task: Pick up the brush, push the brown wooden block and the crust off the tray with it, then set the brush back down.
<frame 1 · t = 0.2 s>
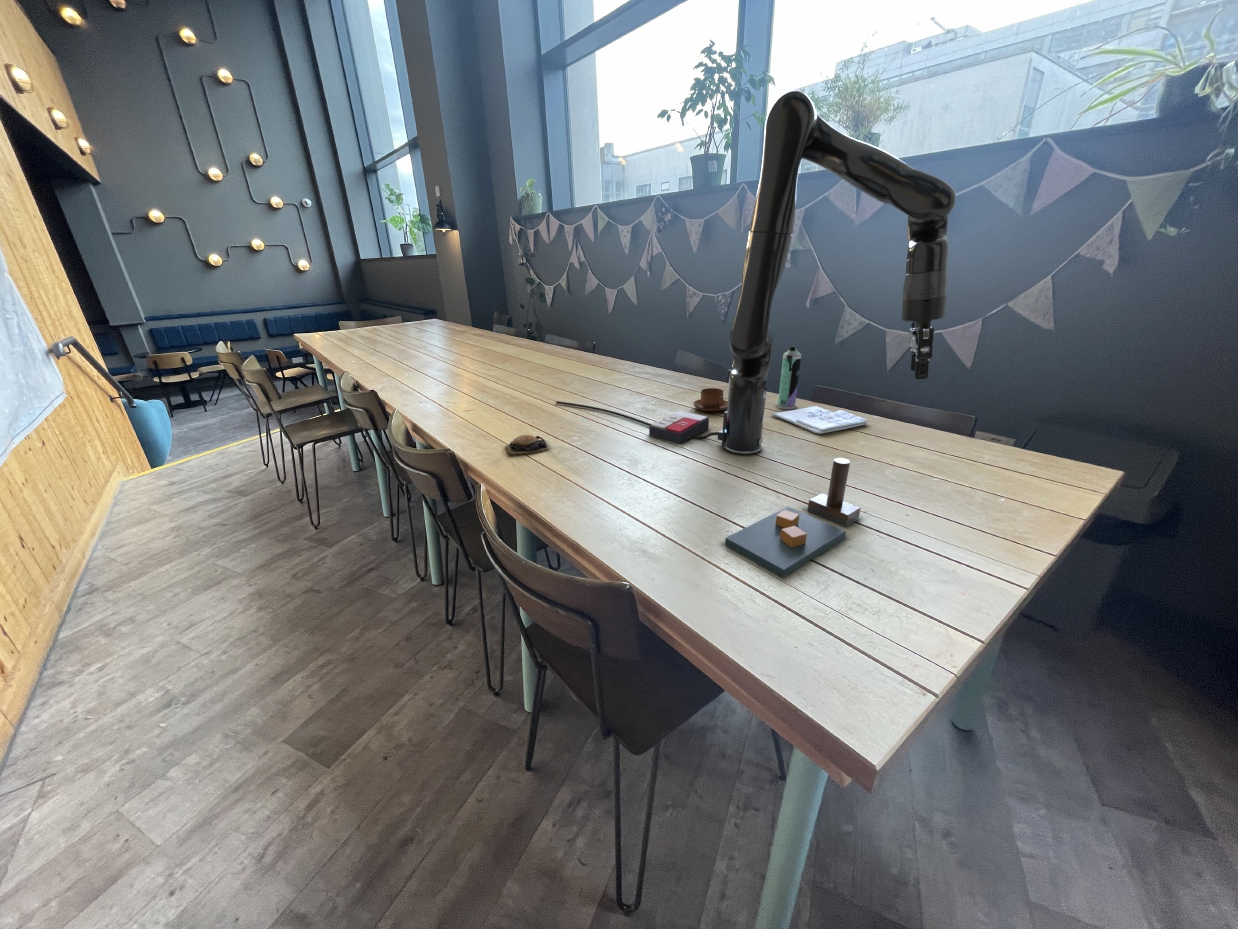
hand: (918, 374, 101), 22 cm above the table, tool pointing down, fingers open, 8 cm apart
brown wooden block: (786, 524, 86), point 1 cm above the table, touching tray
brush: (832, 514, 91), on the table
folded bicycle print cloth: (818, 421, 143), on the table
spray can: (786, 407, 157), on the table
red-topped box: (679, 433, 137), on the table
crust b: (792, 541, 81), point 1 cm above the table, touching tray
brown domed lump: (527, 449, 129), on the table
tray: (785, 541, 83), on the table
cup and saucer: (711, 409, 157), on the table
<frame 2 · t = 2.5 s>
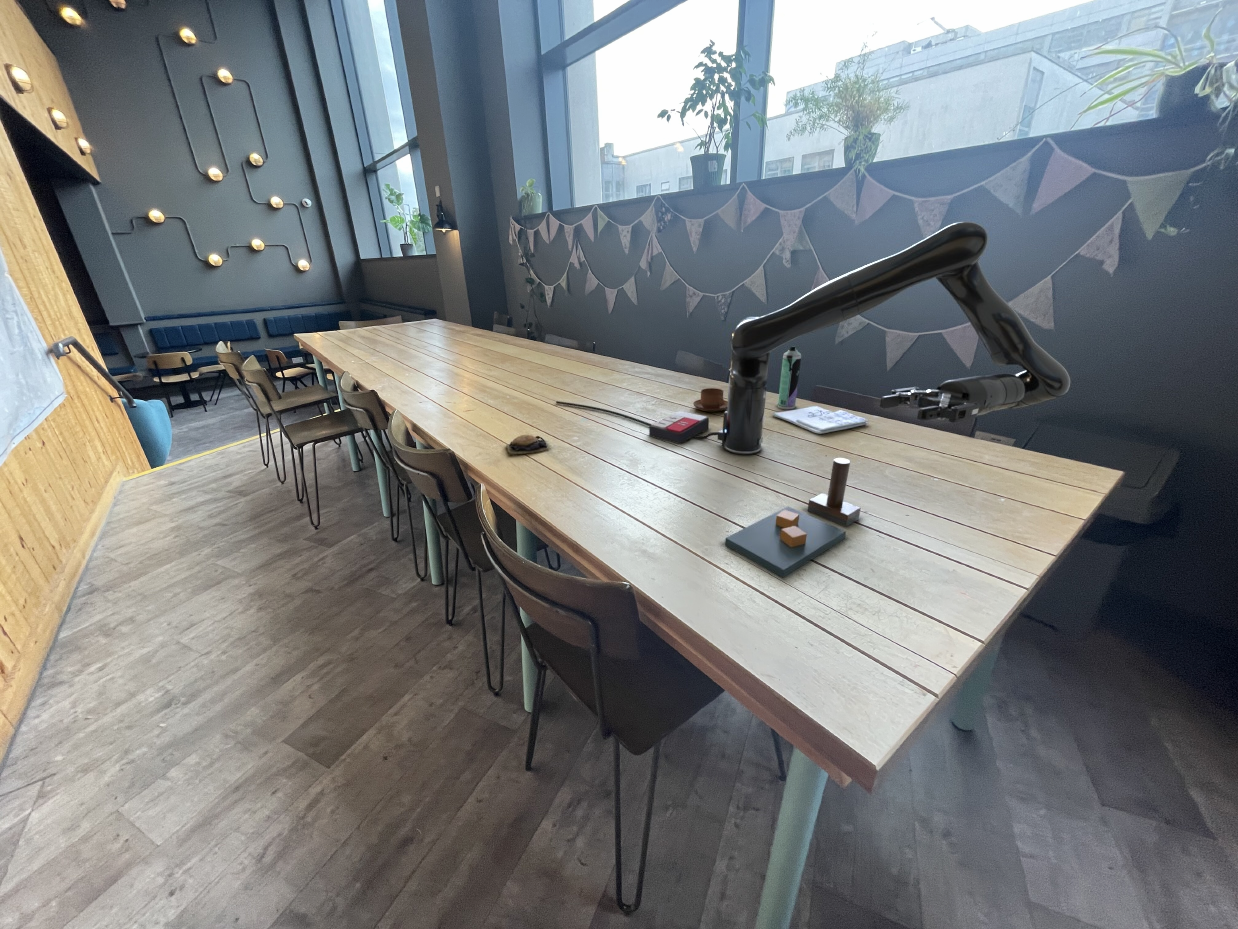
hand: (899, 408, 86), 20 cm above the table, tool horizontal, fingers open, 8 cm apart
nothing on the table moved.
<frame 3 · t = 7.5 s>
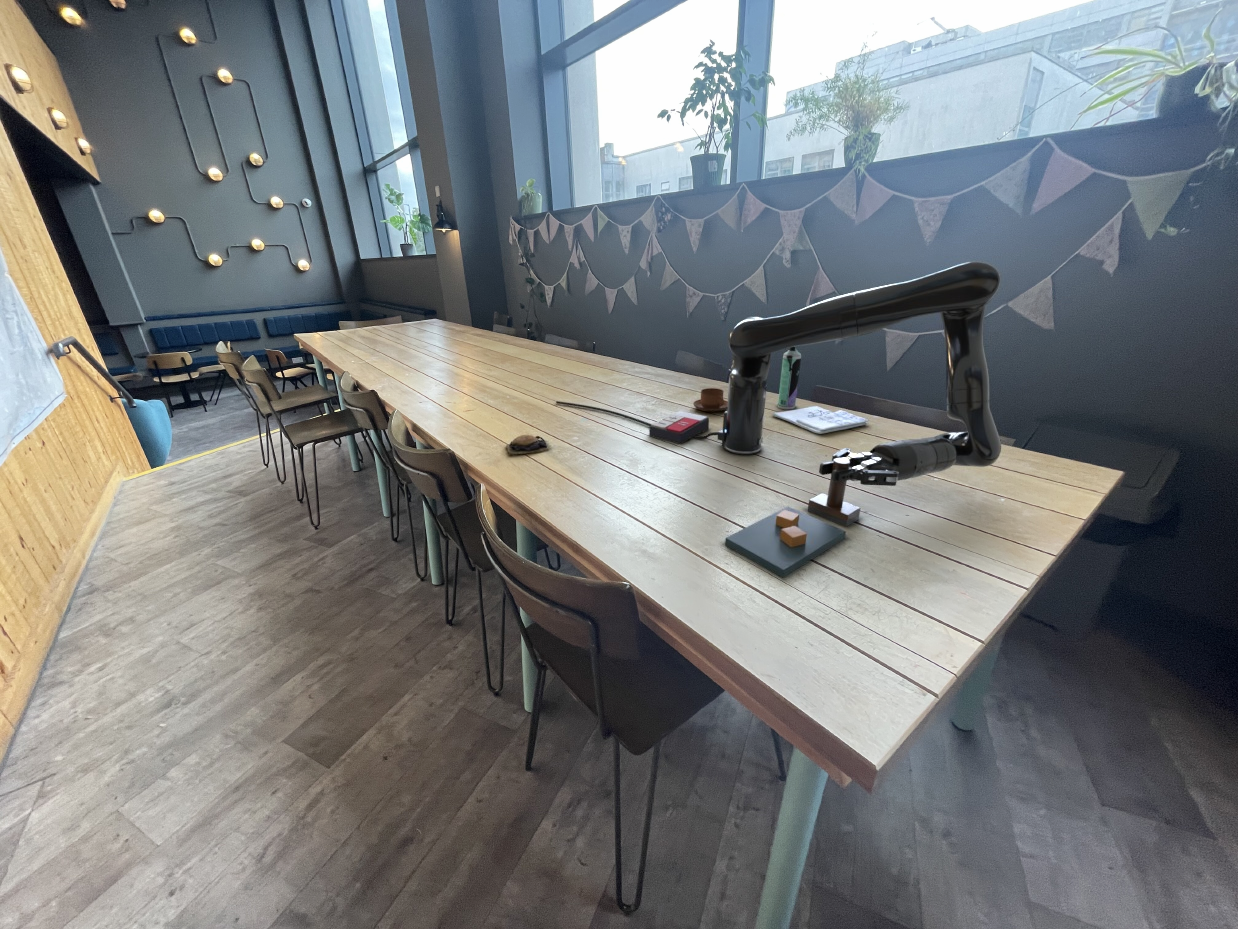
hand: (827, 472, 87), 10 cm above the table, tool horizontal, fingers closed on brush, 3 cm apart
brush: (832, 514, 91), on the table, touching gripper
everything else where it was.
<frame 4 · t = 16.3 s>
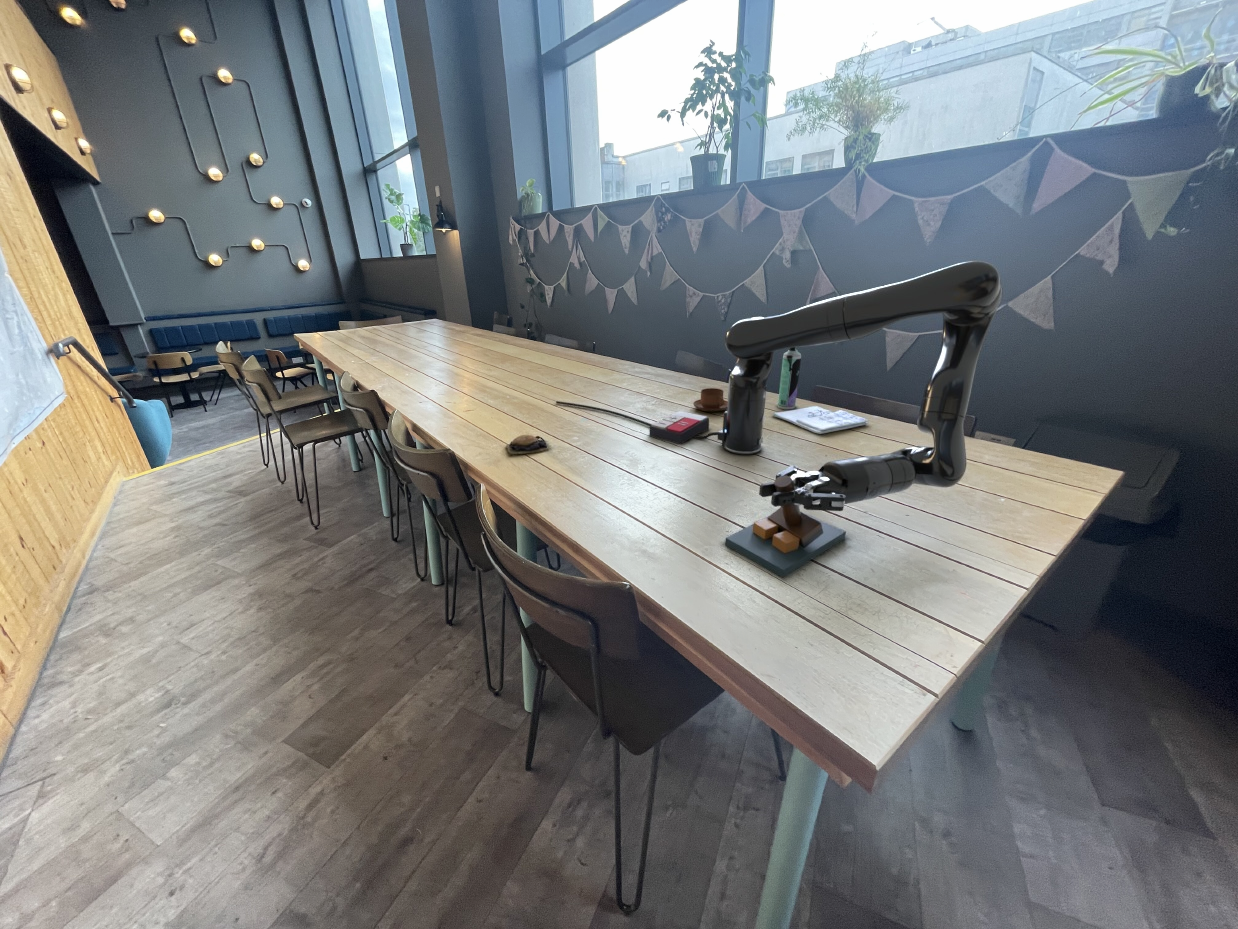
hand: (767, 495, 77), 11 cm above the table, tool horizontal, fingers closed on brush, 3 cm apart
brown wooden block: (764, 533, 83), point 2 cm above the table, touching tray
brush: (796, 529, 82), point 2 cm above the table, tilted 23°, touching crust b, gripper
crust b: (785, 546, 79), point 2 cm above the table, touching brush
everything else where it was.
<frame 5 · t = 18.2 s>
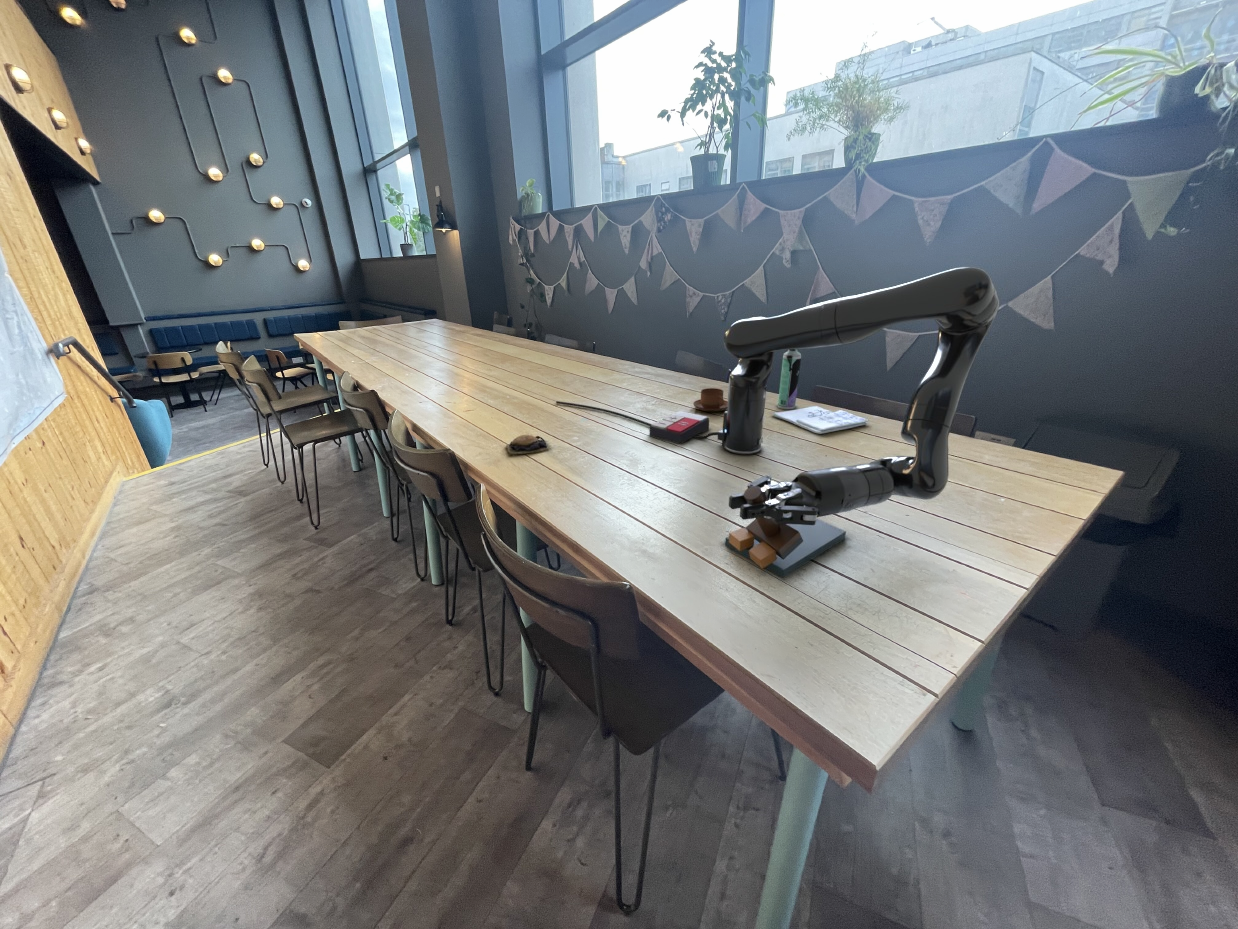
hand: (736, 507, 72), 11 cm above the table, tool horizontal, fingers closed on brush, 3 cm apart
brown wooden block: (741, 544, 80), point 2 cm above the table
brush: (776, 538, 78), point 3 cm above the table, tilted 30°, touching crust b, gripper
crust b: (763, 559, 76), point 2 cm above the table, tilted 19°, touching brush, tray
everything else where it was.
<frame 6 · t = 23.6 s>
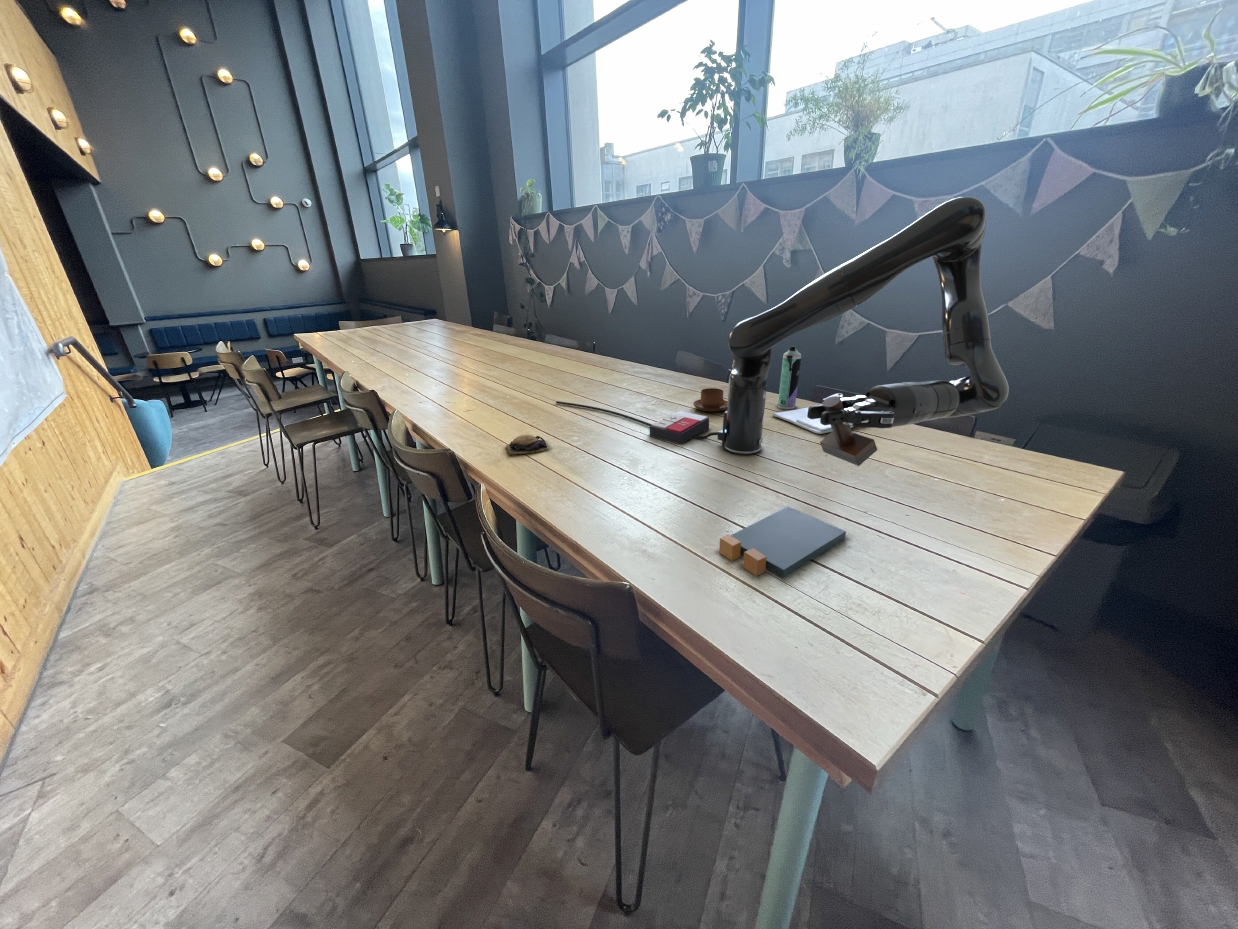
hand: (816, 415, 78), 22 cm above the table, tool horizontal, fingers closed on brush, 3 cm apart
brown wooden block: (734, 545, 80), point 2 cm above the table, tilted 90°
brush: (849, 451, 84), point 14 cm above the table, tilted 31°, touching gripper
crust b: (759, 559, 76), point 1 cm above the table, tilted 90°
everything else where it was.
when the fingers open (9 cm above the table, at t = 28.2 s): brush drops 1 cm, on the table.
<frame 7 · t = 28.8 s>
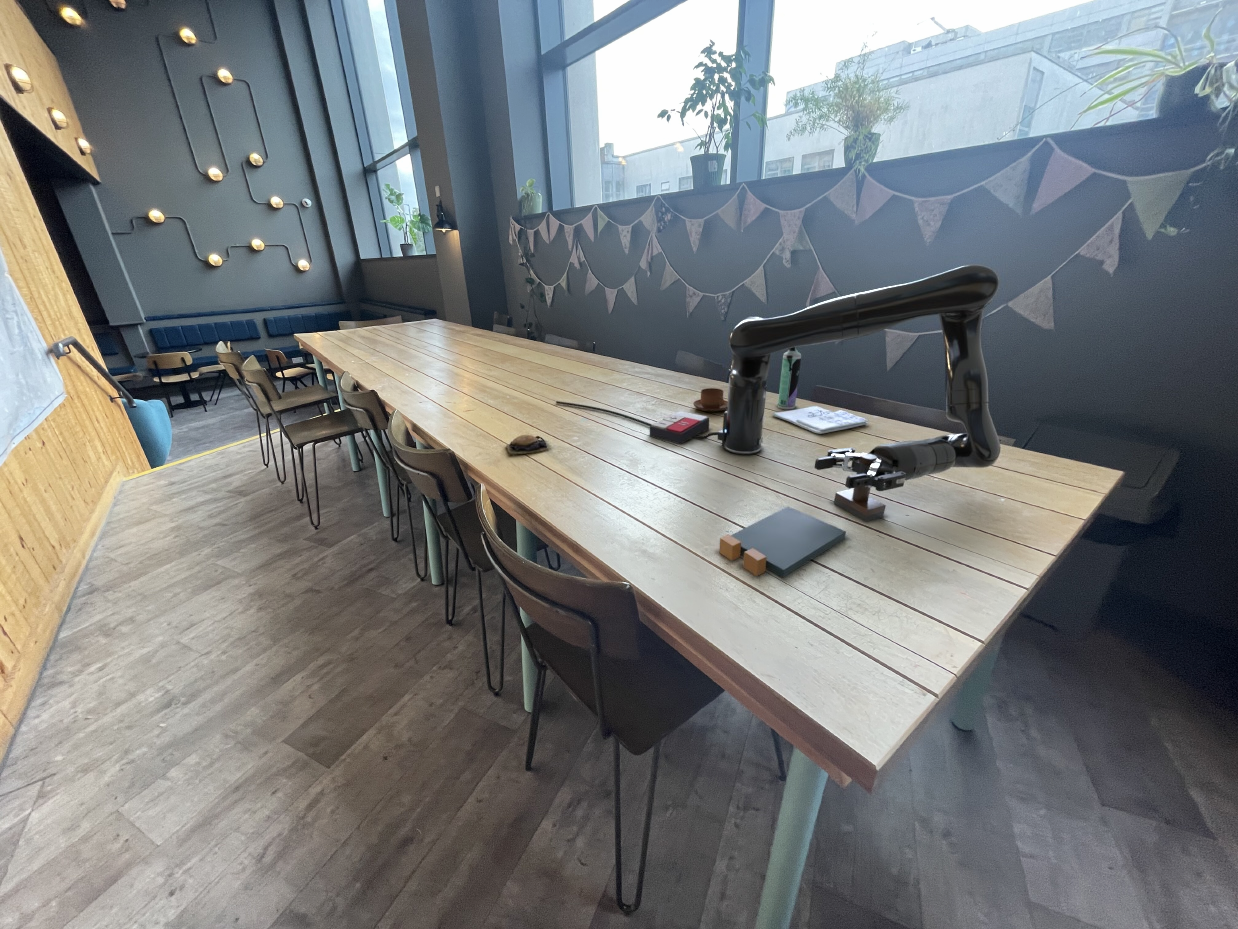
hand: (831, 473, 87), 9 cm above the table, tool horizontal, fingers open, 8 cm apart
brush: (857, 509, 93), on the table
everything else where it was.
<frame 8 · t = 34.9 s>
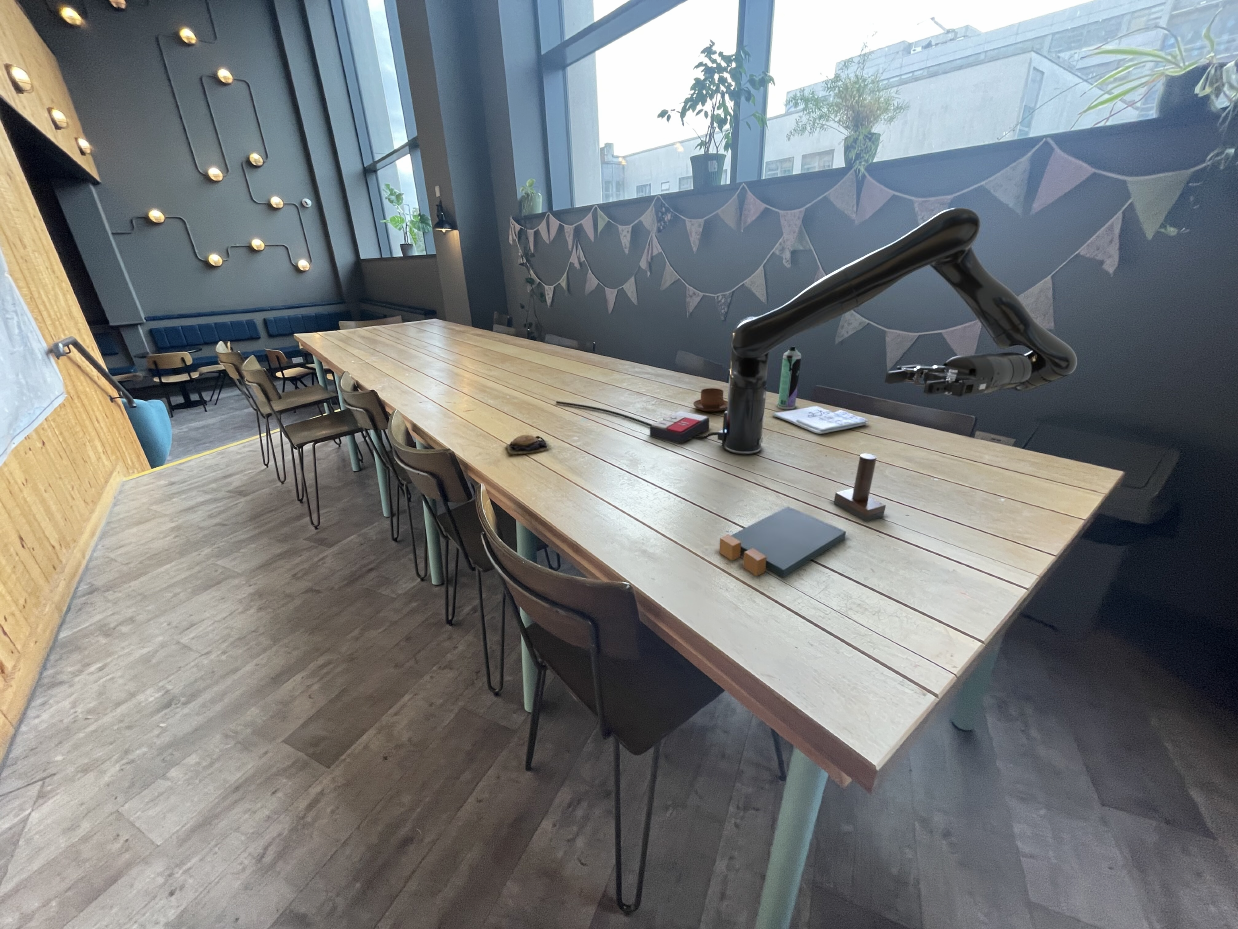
hand: (905, 382, 84), 25 cm above the table, tool horizontal, fingers open, 8 cm apart
nothing on the table moved.
at the end: brown wooden block touching table; crust b touching table; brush tilted 0° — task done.
